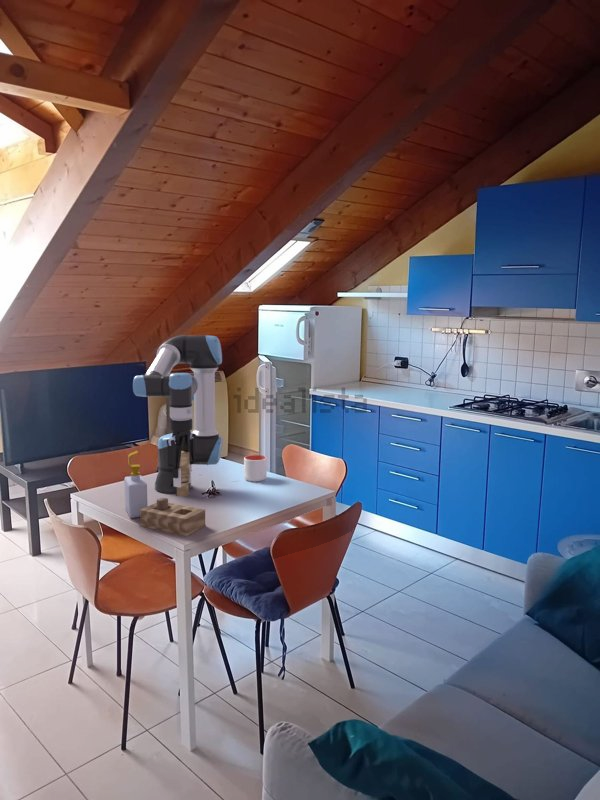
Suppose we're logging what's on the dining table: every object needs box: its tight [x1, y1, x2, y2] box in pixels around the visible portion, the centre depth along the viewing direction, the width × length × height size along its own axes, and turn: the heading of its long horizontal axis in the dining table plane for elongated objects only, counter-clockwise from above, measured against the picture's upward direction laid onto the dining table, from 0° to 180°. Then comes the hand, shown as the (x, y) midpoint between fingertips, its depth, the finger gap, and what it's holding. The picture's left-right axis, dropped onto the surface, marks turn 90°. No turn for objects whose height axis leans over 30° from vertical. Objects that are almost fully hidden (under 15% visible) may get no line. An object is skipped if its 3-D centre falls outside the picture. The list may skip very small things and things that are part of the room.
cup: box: [243, 454, 268, 483], centre depth 277 cm, size 10×10×10 cm
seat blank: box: [139, 497, 206, 537], centre depth 219 cm, size 20×11×9 cm, turn 64°
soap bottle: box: [123, 450, 149, 519], centre depth 231 cm, size 12×7×23 cm, turn 24°
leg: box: [176, 451, 190, 498], centre depth 214 cm, size 5×5×15 cm
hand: (182, 484), depth 215 cm, fingers closed on leg, 5 cm apart
